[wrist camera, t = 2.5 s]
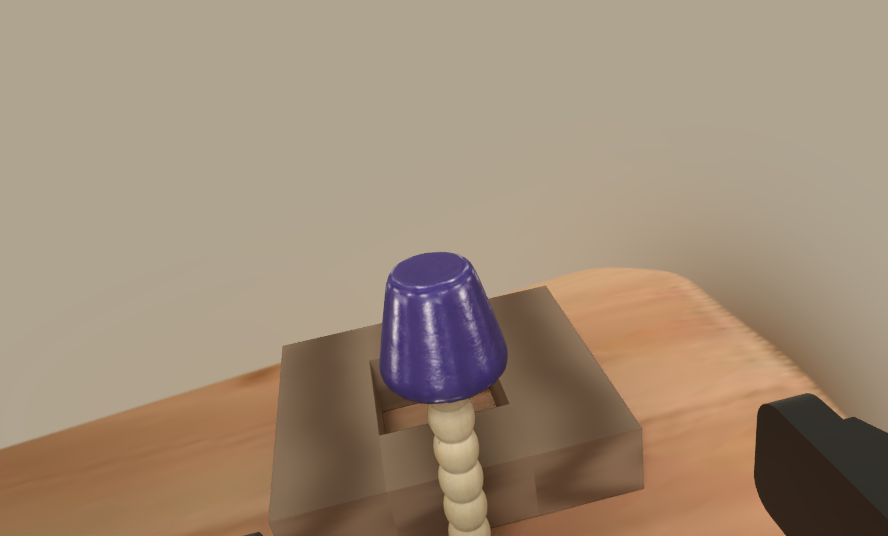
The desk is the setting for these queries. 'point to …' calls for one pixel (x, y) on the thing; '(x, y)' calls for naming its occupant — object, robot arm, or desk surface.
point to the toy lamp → (444, 368)
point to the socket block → (411, 450)
